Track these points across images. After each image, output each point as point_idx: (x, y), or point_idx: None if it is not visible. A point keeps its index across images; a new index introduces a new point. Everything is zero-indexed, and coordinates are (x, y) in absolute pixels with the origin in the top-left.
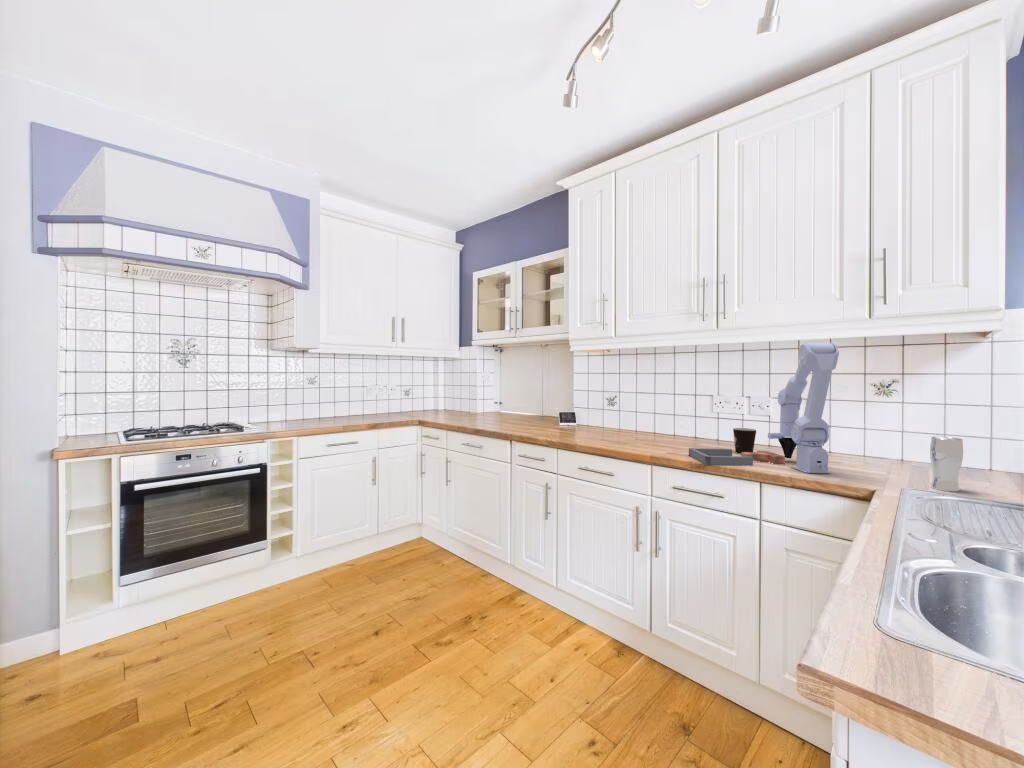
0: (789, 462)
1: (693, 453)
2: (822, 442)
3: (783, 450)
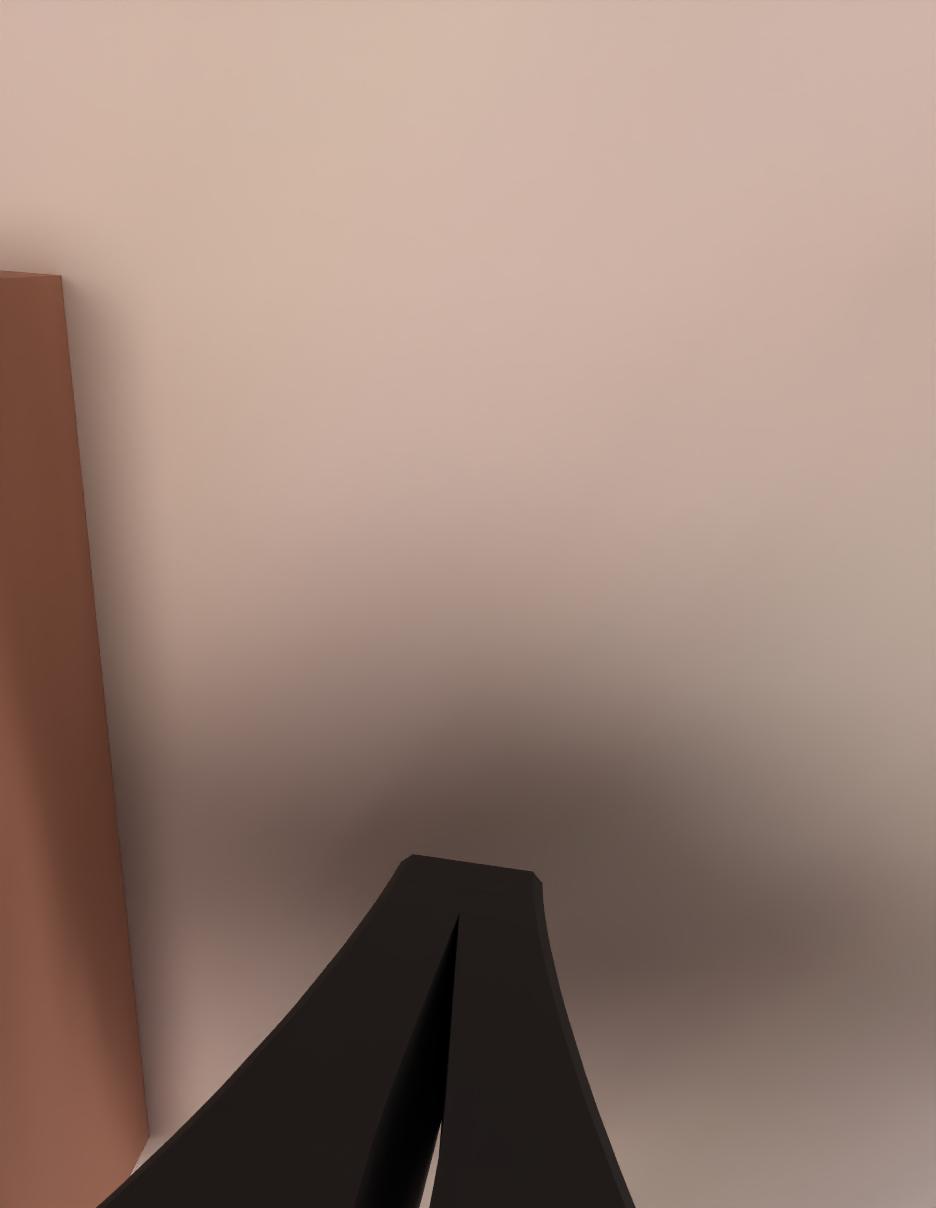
0: None
1: None
2: None
3: (278, 1051)
